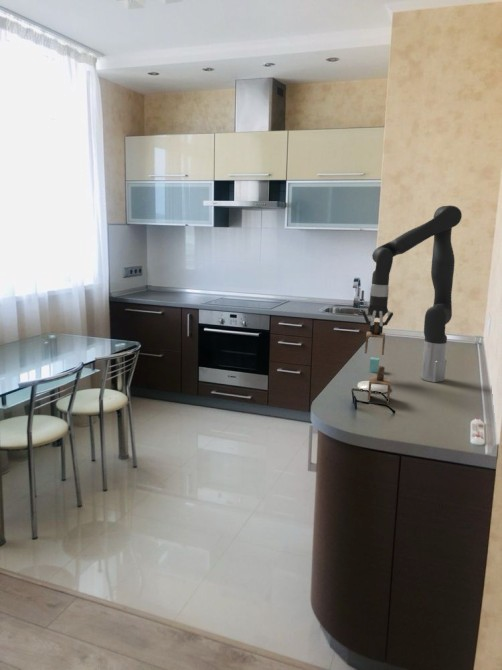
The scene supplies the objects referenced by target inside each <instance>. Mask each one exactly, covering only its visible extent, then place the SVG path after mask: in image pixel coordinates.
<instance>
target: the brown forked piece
mask: <svg viewBox="0 0 502 670" xmlns="http://www.w3.org/2000/svg"><path fill="white" fill-rule="evenodd" d="M373 325H374V328H373V334H371V333H370V331H366V333H365V334H366V335H365V346H364V354H367V352H368V345H369V338H379V339H380V338H381V339H382V344H381V345H382V347H381V355H384V354H385V342H386V332H382V333H381V334H380V335H379V327H380V321H374V323H373Z"/></svg>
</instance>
